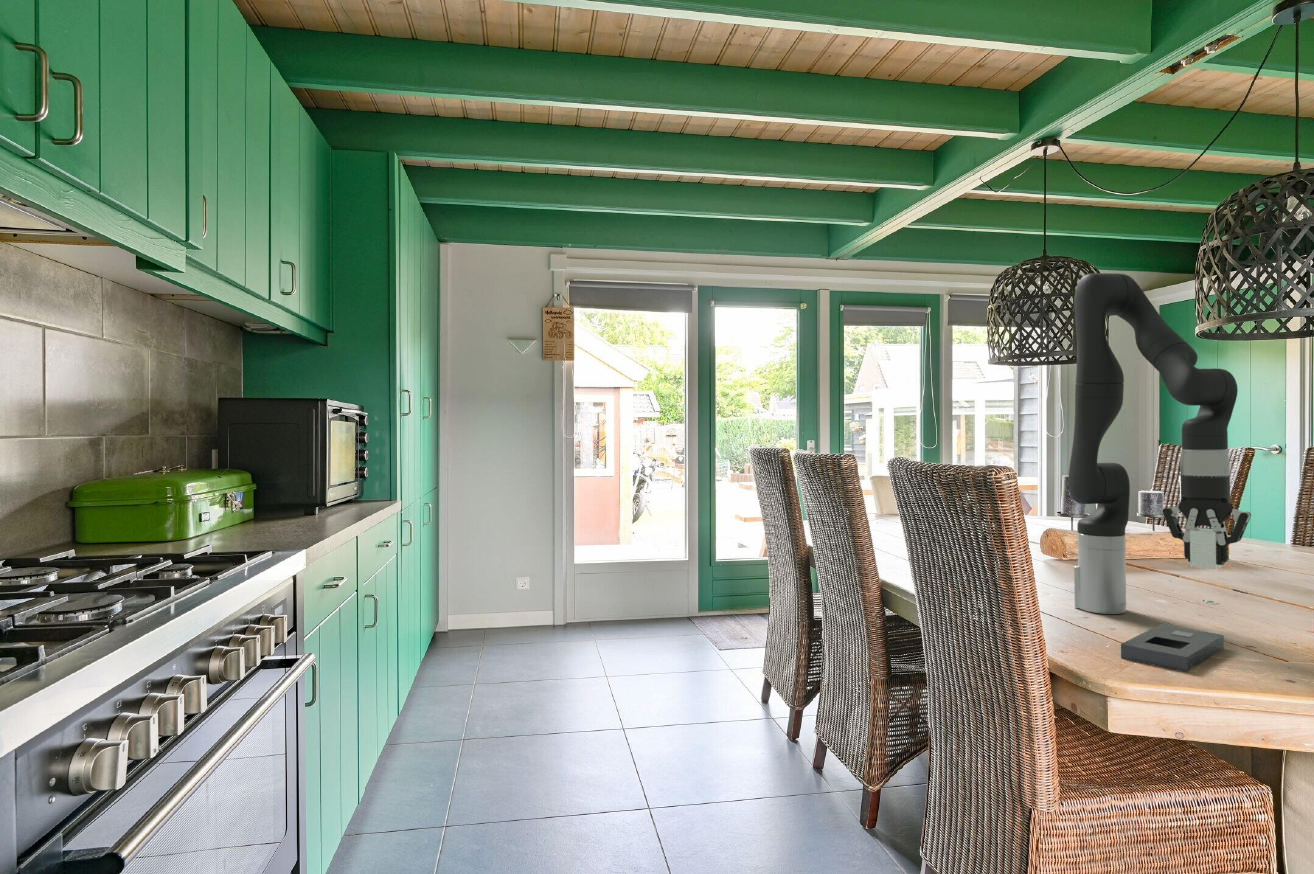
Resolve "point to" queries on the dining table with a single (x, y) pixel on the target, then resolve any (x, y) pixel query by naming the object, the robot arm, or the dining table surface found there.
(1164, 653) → the dark grey flat board
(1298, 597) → the dining table surface
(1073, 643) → the dining table surface
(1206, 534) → the grey rectangular block
